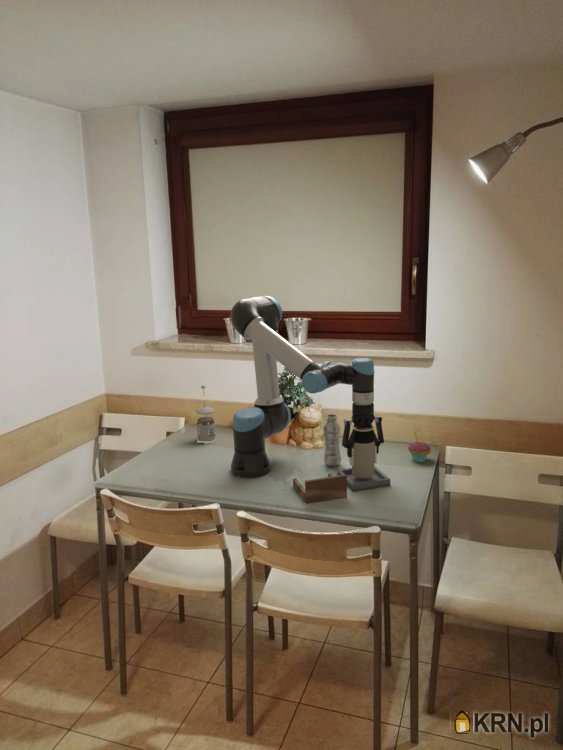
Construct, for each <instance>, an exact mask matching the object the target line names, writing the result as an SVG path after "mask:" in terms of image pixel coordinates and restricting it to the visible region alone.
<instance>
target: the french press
mask: <svg viewBox="0 0 563 750" xmlns="http://www.w3.org/2000/svg"><path fill="white" fill-rule="evenodd" d="M206 387H207V386H206V385H201V387H200V388H201V389H202V392H203V395H205V391H204V390H205V389H206ZM205 403H206V402H205V401H203V405H204V406H201V407H199V408H197V409H196V410H195V414H197V415H198V414H199V415H207V416H203V417H199V418H197V420H196V421H197V422H196V431H197V439H198V440H199V441H212V440H214V439H215V437H216V428H215V427H216V424H215V421H214V417H212V414H213V413H214V411H215V409H214V408H212V407H210V406H205ZM209 415H210V416H209Z"/></svg>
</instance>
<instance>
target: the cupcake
mask: <svg viewBox="0 0 563 750" xmlns="http://www.w3.org/2000/svg"><path fill="white" fill-rule="evenodd" d="M414 439H415V442H412V443H410V444H409V445H408V448H407V450H408V452H409V453H410V454H411V456H412V457H411V459H412V461H414V462H416V463H423V462H426V460H427V457H428V455H429V454H431V452H432V449H431V446H430V445H429V443H427V442H423V441H419V440H418V435H417V431H414Z"/></svg>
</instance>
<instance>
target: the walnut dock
mask: <svg viewBox="0 0 563 750" xmlns="http://www.w3.org/2000/svg"><path fill="white" fill-rule="evenodd" d="M292 487H293V488H294V490H295V491H296V492H297V493H298V495H299V496H300V497H301V498H302V500H303V501H304V503H305V504H306V505H310V503H311V504H316V503H323V502H328V501H335V500H336V501H337V500H342V499H347V498H348V487H347V476H346V475H339V476H337V475H334V474H333V473H327V476H326V477H325V476H324V477H320V478H319V477H318V478H312V479H307V480H304V486H303V485H302V484H301V482H300V481H299V480H298V478H297V477H296V478H293V479H292Z"/></svg>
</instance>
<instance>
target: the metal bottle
mask: <svg viewBox="0 0 563 750" xmlns="http://www.w3.org/2000/svg"><path fill="white" fill-rule="evenodd" d="M337 417H338V416H337V414H334V413H333V414H331V413H330V414H327V415H326V423H325V424H324V425H323V428H322V431H323V432H322V433H323V437H324V455H323V461H324V462H323V463H324V464H325V465H326V466H328V467H336V466H337V467H338V466H339V465H340V464H341V463H342V456H341V449H340V448H341V447H340V436H341V426H340V424H339V423H338V418H337Z"/></svg>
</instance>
